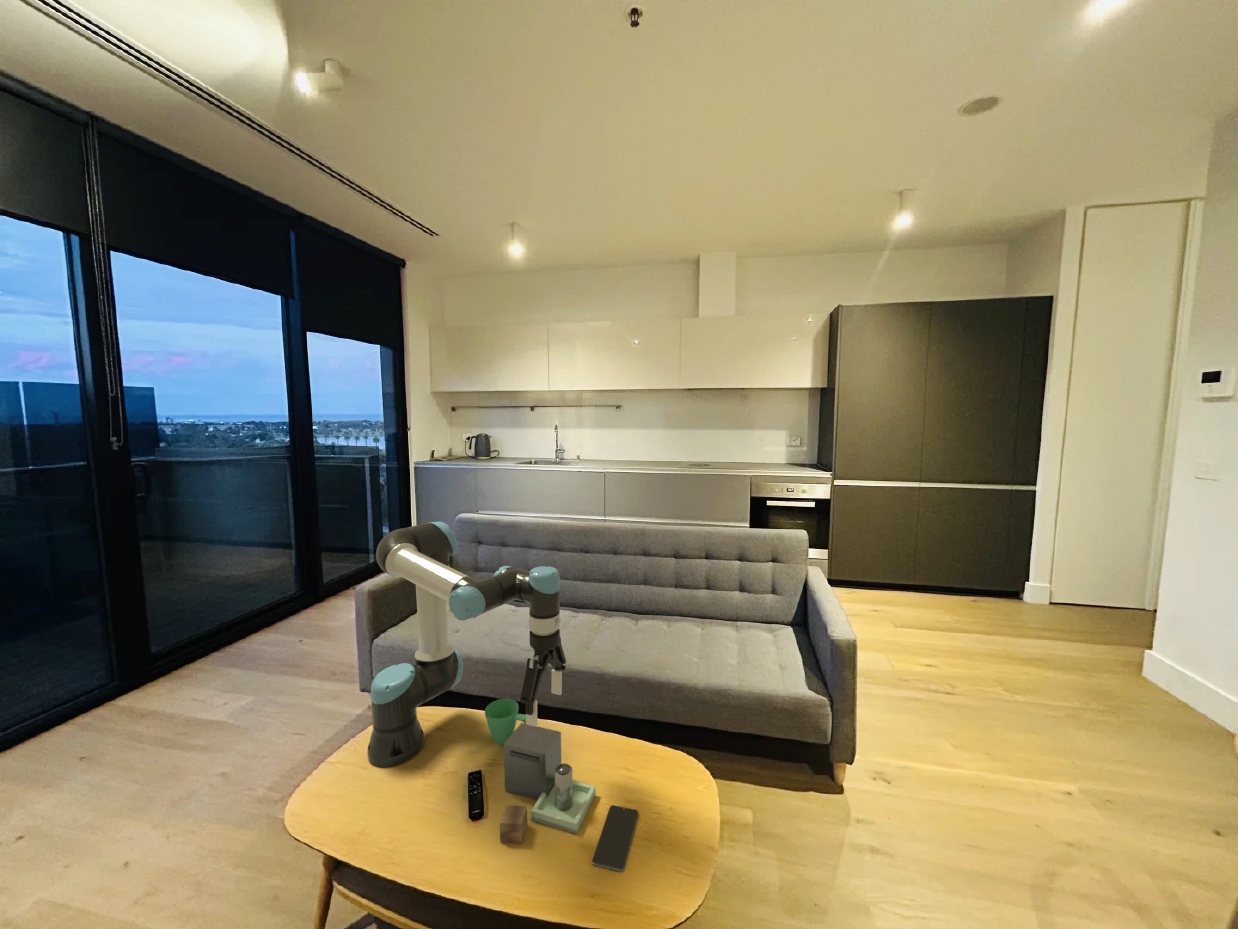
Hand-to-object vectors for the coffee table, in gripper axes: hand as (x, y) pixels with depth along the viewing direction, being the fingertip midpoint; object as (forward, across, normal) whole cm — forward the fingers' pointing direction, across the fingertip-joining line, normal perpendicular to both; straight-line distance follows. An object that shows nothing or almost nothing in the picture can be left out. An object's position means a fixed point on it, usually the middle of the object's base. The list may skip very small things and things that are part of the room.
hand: (544, 708), depth 122 cm
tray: (+22, -4, -7) cm, 24 cm away
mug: (+24, +13, +19) cm, 33 cm away
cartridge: (+21, -4, -7) cm, 23 cm away
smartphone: (+23, -8, -23) cm, 33 cm away
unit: (+23, +1, +4) cm, 23 cm away
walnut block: (+23, -14, 0) cm, 27 cm away
